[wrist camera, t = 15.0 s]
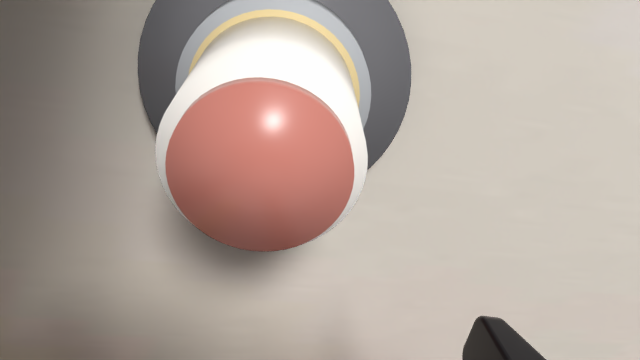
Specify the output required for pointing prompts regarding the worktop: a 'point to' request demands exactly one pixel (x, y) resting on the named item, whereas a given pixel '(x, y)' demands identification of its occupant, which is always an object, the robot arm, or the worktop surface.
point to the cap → (264, 137)
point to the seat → (301, 5)
